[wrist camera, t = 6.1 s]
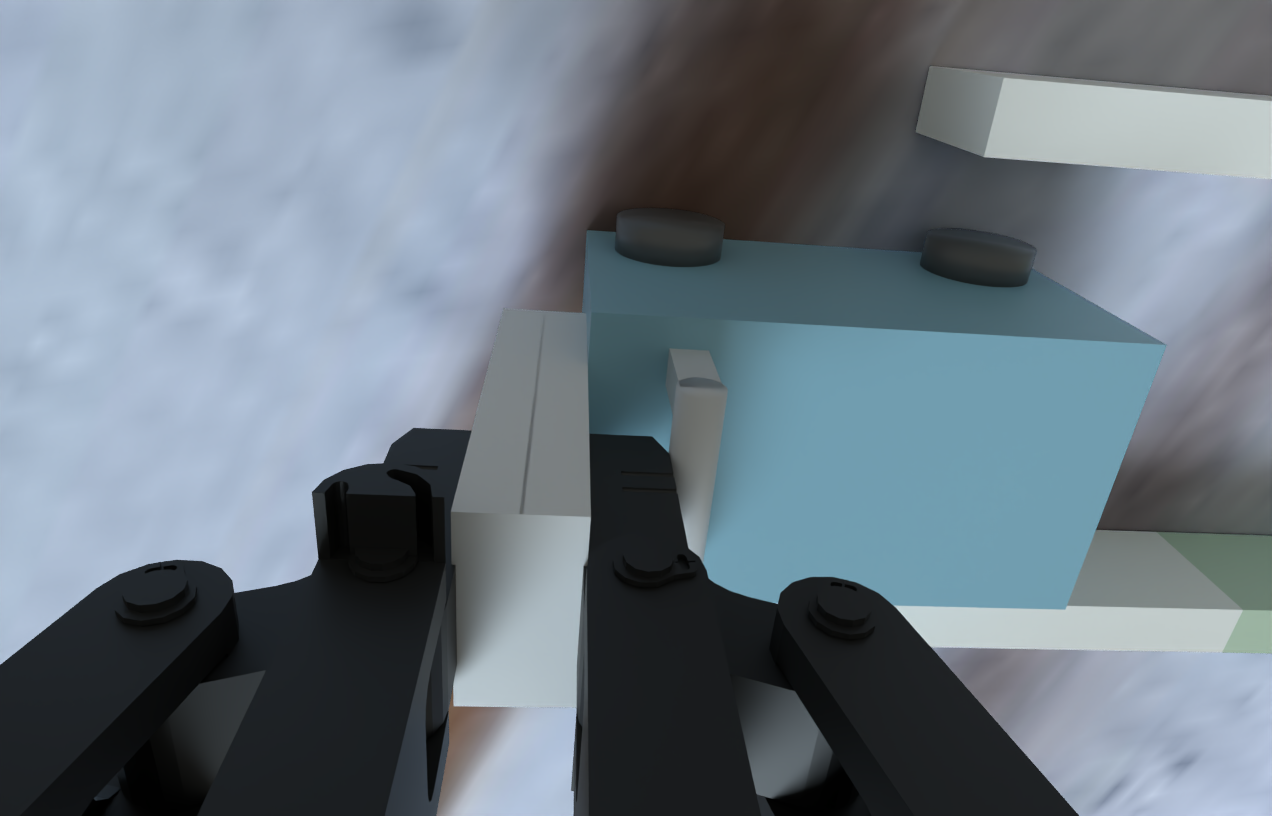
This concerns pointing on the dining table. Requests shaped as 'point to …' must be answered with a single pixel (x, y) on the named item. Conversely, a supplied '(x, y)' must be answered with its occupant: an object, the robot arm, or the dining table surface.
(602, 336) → the blue handled block
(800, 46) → the dining table surface
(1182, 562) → the frame
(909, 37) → the dining table surface
